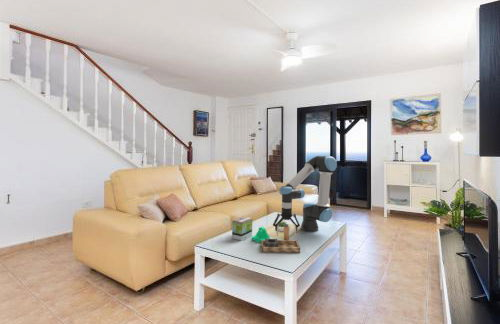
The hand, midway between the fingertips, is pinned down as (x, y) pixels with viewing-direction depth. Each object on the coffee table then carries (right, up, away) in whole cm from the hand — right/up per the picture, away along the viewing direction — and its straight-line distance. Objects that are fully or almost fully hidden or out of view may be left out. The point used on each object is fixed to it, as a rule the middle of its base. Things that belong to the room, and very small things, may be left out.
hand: (286, 235), depth 197 cm
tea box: (-34, -5, +11) cm, 36 cm away
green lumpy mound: (-19, -5, +3) cm, 20 cm away
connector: (0, -5, 0) cm, 5 cm away
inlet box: (-6, -6, -12) cm, 15 cm away
